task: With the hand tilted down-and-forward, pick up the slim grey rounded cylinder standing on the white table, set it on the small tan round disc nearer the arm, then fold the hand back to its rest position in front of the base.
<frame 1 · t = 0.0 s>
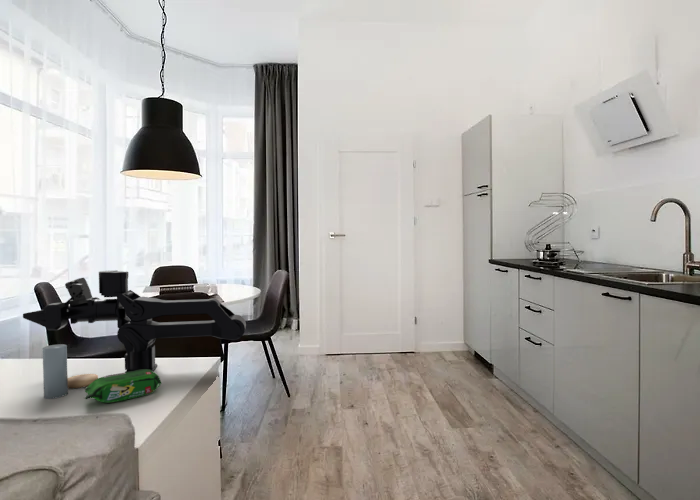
hand: (33, 312, 108), 17 cm above the cabinet, fingers open, 9 cm apart
tan round disc: (81, 383, 104), on the cabinet
grey rounded cylinder: (56, 394, 97), on the cabinet
snack package: (124, 398, 95), on the cabinet
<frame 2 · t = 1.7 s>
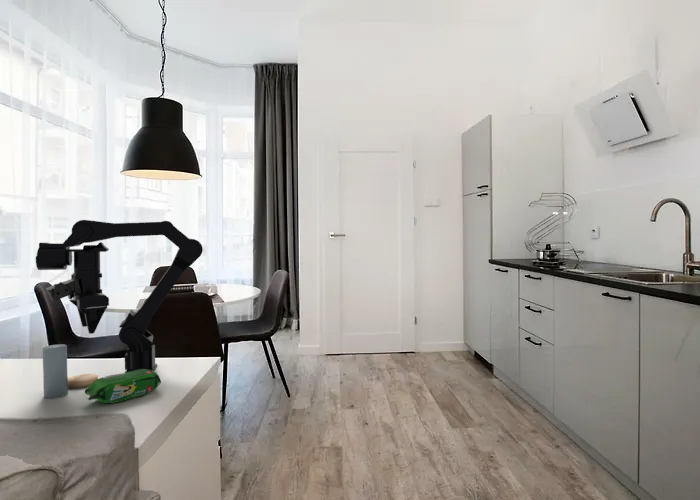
hand: (88, 329, 109), 12 cm above the cabinet, fingers open, 9 cm apart
nothing on the cabinet moved.
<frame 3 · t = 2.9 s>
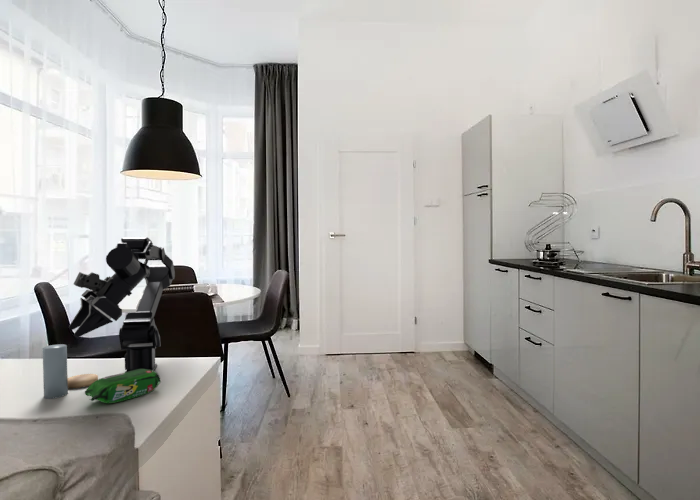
hand: (72, 332, 100), 14 cm above the cabinet, fingers open, 9 cm apart
nothing on the cabinet moved.
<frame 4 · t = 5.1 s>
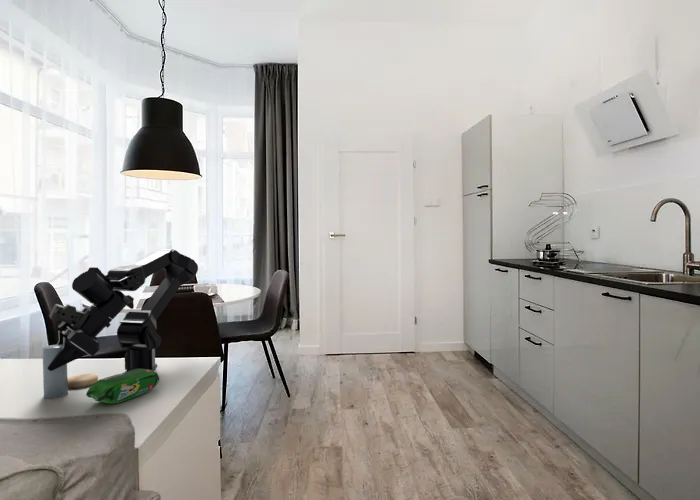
hand: (47, 367, 95), 7 cm above the cabinet, fingers closed on grey rounded cylinder, 4 cm apart
grey rounded cylinder: (56, 394, 97), on the cabinet, touching gripper
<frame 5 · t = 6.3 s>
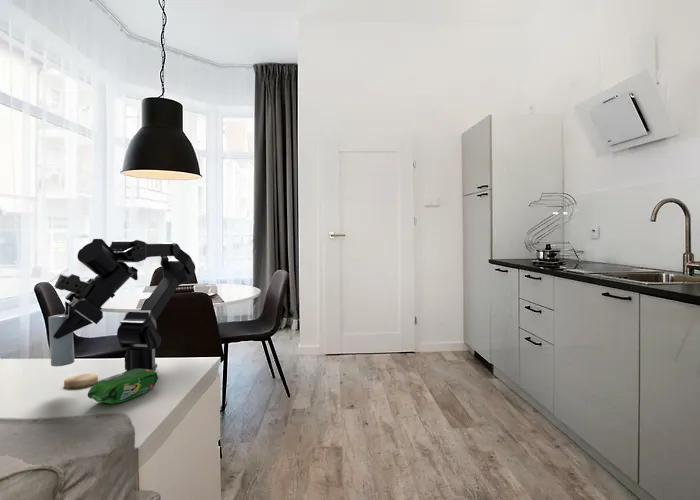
hand: (54, 335, 97), 13 cm above the cabinet, fingers closed on grey rounded cylinder, 4 cm apart
grey rounded cylinder: (62, 363, 98), point 7 cm above the cabinet, touching gripper
when the fingers open (9 cm above the cabinet, at t = 8.0 s): grey rounded cylinder stays where it is, resting on tan round disc.
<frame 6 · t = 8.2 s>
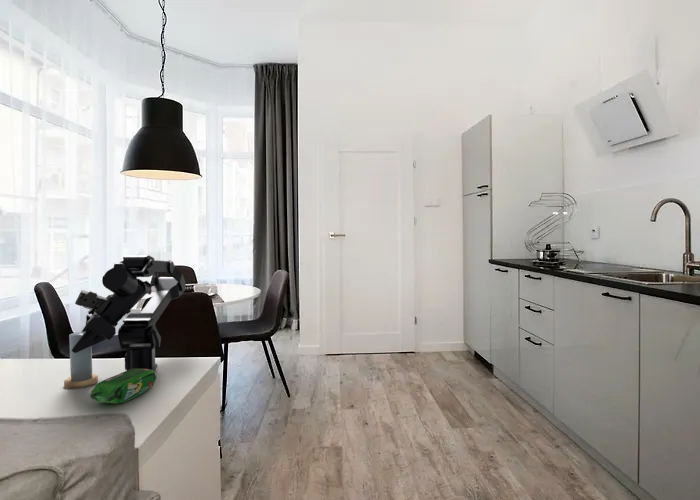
hand: (73, 348, 103), 9 cm above the cabinet, fingers open, 6 cm apart
grey rounded cylinder: (81, 378, 104), point 1 cm above the cabinet, touching tan round disc
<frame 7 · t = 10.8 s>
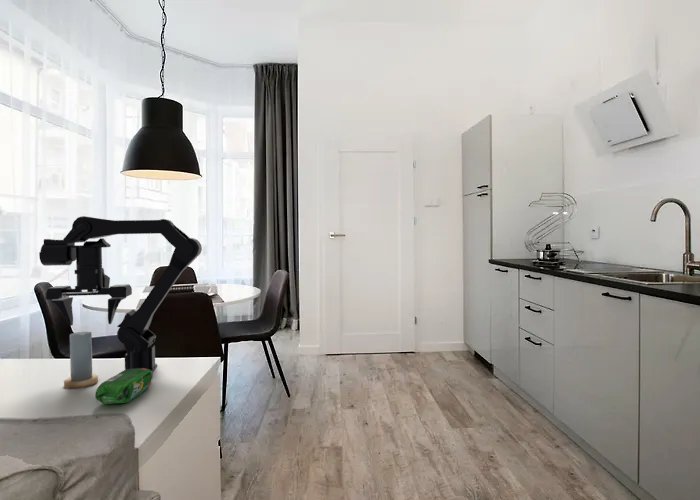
hand: (90, 324, 111), 13 cm above the cabinet, fingers open, 9 cm apart
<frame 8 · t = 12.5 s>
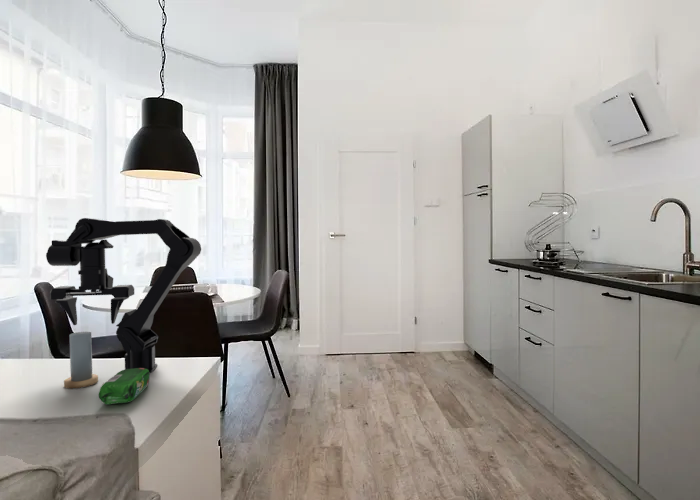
hand: (94, 324, 113), 13 cm above the cabinet, fingers open, 9 cm apart
at the end: grey rounded cylinder inside the target area on the tan round disc (0.1 cm from its centre), point 1.2 cm above the tan round disc's base; grey rounded cylinder tilted 0°; the gripper is holding nothing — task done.
